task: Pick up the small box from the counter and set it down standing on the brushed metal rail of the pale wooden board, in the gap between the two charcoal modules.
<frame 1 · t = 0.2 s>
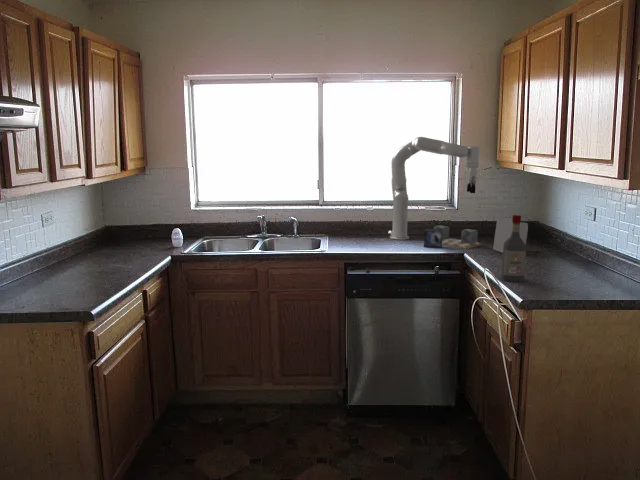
hand: (470, 192, 351), 31 cm above the worktop, tool pointing down, fingers open, 9 cm apart
small box: (432, 247, 332), on the worktop
electrical switch box: (511, 251, 319), on the worktop
liquor: (512, 279, 254), on the worktop
rail board: (454, 243, 342), on the worktop
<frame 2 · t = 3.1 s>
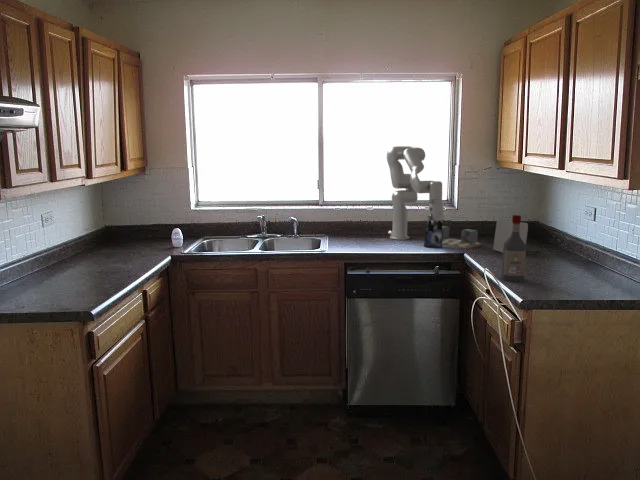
hand: (435, 230, 329), 10 cm above the worktop, tool pointing down, fingers open, 9 cm apart
small box: (432, 246, 332), on the worktop, touching gripper
everything else where it was.
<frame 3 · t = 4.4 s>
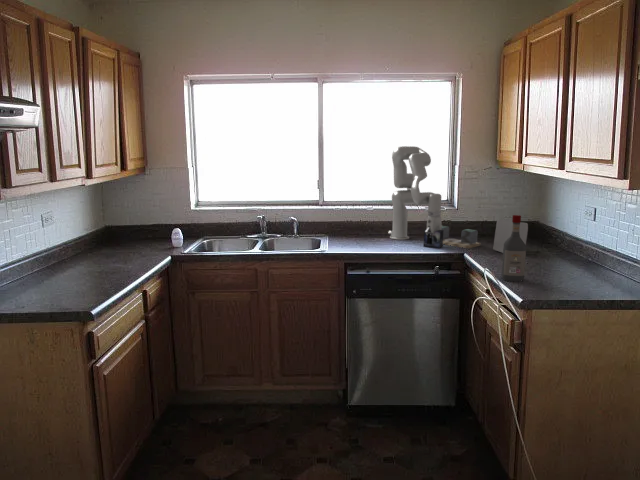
hand: (433, 242, 332), 2 cm above the worktop, tool pointing down, fingers closed on small box, 7 cm apart
small box: (432, 247, 332), on the worktop, touching gripper
everything else where it was.
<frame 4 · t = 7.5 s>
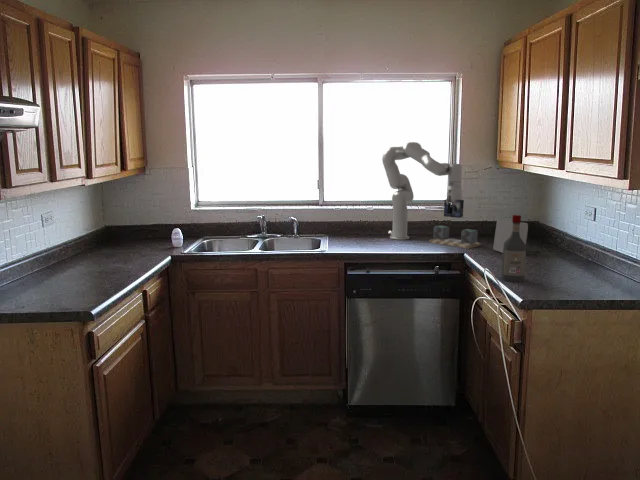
hand: (453, 212, 337), 20 cm above the worktop, tool pointing down, fingers closed on small box, 7 cm apart
small box: (453, 216, 337), point 17 cm above the worktop, touching gripper
everything else where it was.
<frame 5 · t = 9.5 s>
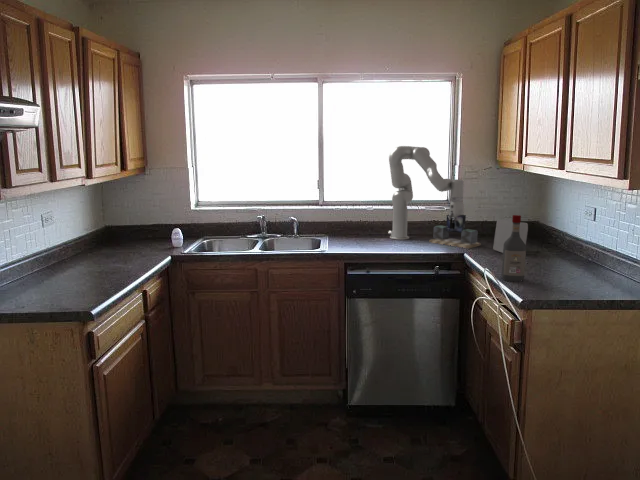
hand: (455, 227, 340), 10 cm above the worktop, tool pointing down, fingers closed on small box, 7 cm apart
small box: (455, 231, 340), point 8 cm above the worktop, touching gripper
everything else where it was.
when the fingers open (6 cm above the worktop, at t = 10.9 s): small box drops 1 cm, resting on rail board.
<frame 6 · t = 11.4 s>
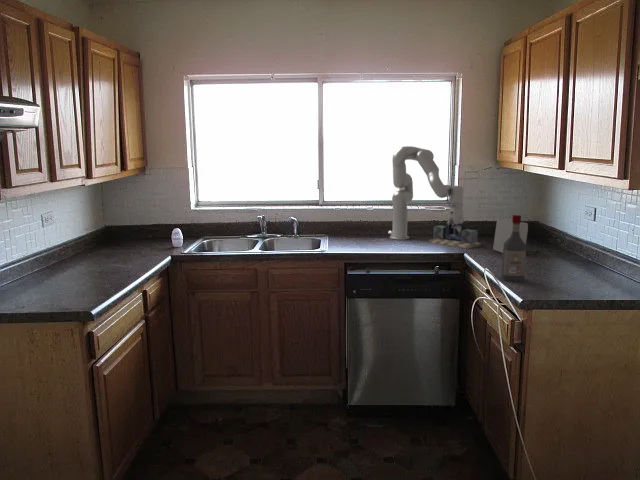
hand: (455, 233, 341), 7 cm above the worktop, tool pointing down, fingers open, 9 cm apart
small box: (454, 240, 342), point 2 cm above the worktop, touching rail board
everything else where it was.
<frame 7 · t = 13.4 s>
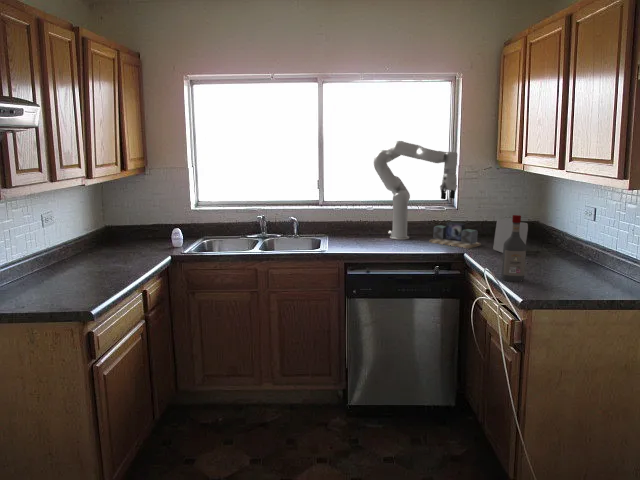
hand: (447, 198, 347), 27 cm above the worktop, tool pointing down, fingers open, 9 cm apart
nothing on the worktop moved.
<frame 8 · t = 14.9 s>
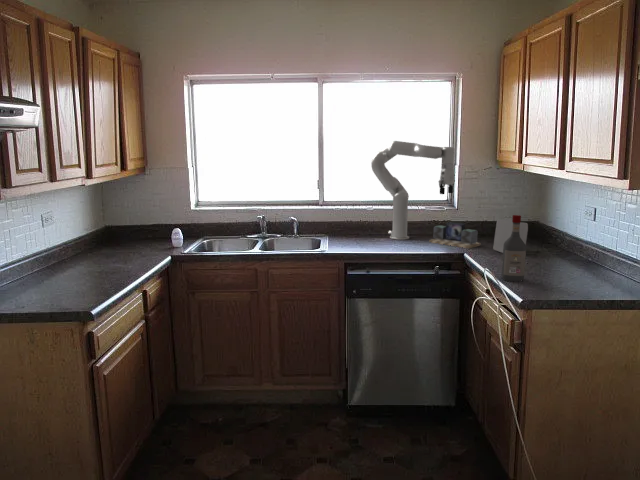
hand: (446, 193, 350), 30 cm above the worktop, tool pointing down, fingers open, 9 cm apart
nothing on the worktop moved.
at the end: small box 0.1 cm off-centre on the rail board, point 2.3 cm above the rail board's base; small box tilted 0°; the gripper is holding nothing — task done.
